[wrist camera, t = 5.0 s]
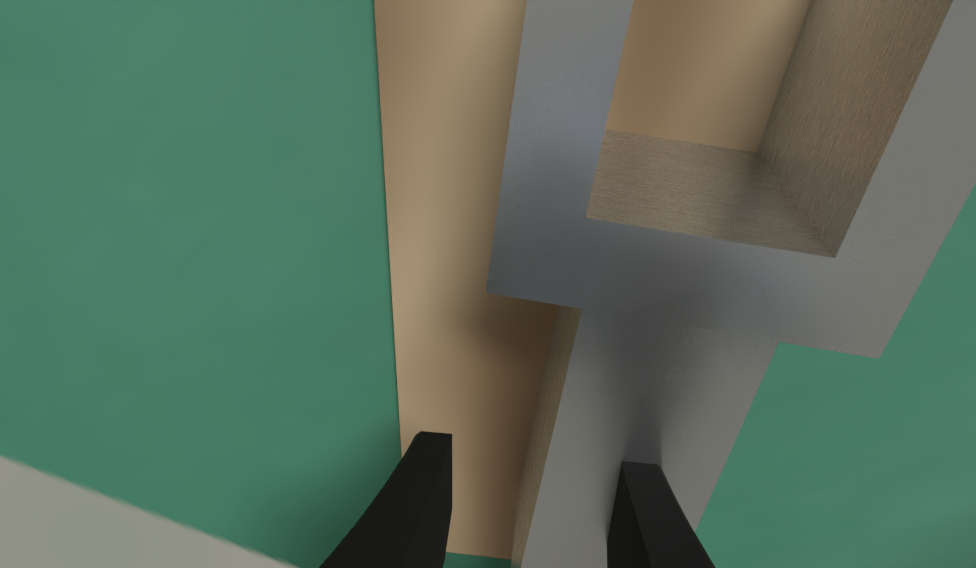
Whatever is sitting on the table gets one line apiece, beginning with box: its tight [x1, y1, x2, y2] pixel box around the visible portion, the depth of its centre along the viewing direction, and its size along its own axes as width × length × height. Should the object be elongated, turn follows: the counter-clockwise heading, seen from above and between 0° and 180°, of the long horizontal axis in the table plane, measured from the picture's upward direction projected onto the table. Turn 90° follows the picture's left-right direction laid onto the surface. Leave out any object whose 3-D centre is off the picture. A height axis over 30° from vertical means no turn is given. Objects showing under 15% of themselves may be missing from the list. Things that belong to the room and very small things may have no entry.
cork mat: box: [374, 0, 811, 559], centre depth 16 cm, size 8×17×1 cm, turn 179°
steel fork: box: [486, 0, 976, 568], centre depth 13 cm, size 6×14×4 cm, turn 173°
